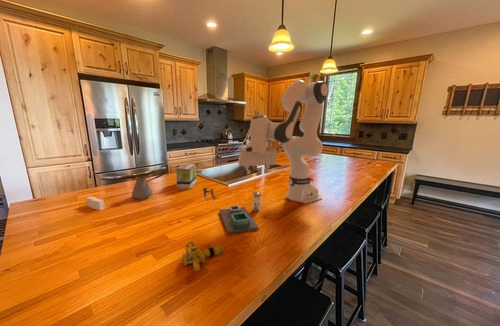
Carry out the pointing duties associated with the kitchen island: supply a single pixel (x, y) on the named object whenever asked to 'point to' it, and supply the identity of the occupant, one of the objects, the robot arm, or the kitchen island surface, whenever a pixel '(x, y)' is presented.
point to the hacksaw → (209, 191)
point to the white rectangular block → (95, 203)
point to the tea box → (186, 176)
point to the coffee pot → (143, 187)
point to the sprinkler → (199, 255)
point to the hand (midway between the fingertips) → (257, 173)
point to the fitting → (256, 201)
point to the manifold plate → (237, 220)
